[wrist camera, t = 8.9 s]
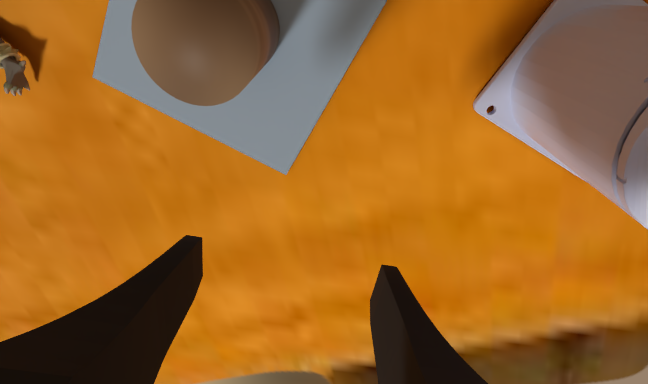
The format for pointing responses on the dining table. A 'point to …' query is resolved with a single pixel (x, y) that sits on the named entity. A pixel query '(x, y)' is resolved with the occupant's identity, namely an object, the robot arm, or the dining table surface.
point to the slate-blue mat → (266, 87)
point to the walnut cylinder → (204, 45)
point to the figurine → (12, 69)
